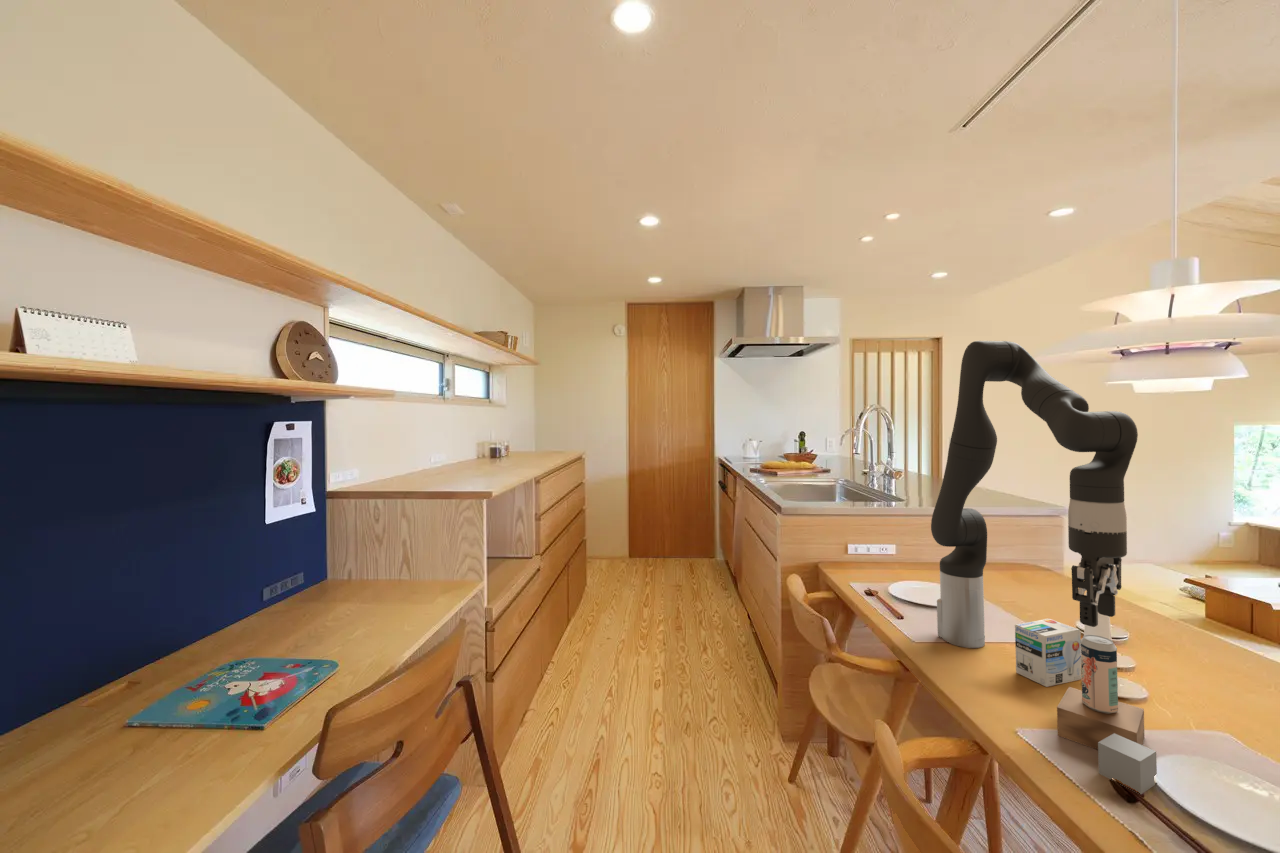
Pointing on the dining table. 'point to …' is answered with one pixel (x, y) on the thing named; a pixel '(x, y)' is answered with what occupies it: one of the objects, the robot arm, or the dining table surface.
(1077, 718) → the walnut block
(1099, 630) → the cosmetic bottle
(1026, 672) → the light bulb box
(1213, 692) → the dining table surface
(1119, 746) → the slate block
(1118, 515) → the robot arm
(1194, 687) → the dining table surface
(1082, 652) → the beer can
